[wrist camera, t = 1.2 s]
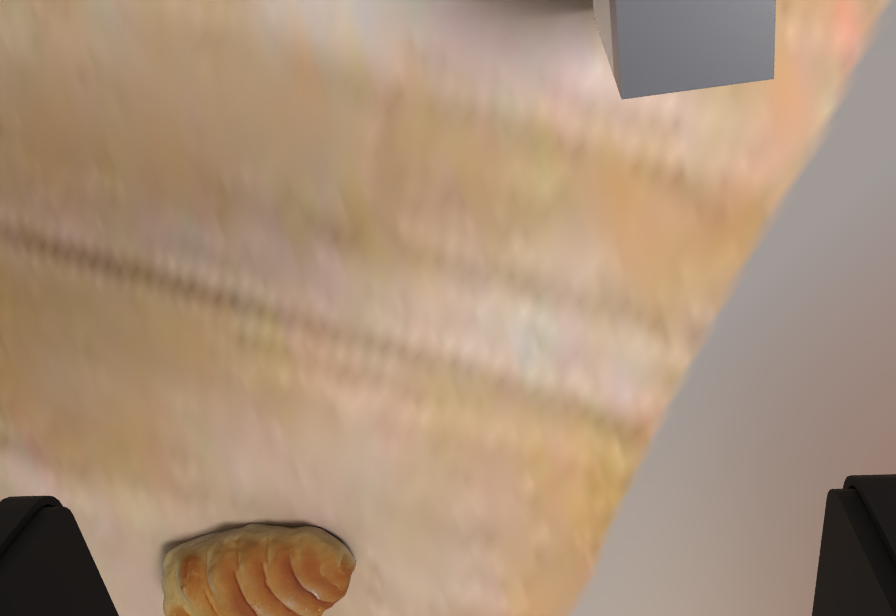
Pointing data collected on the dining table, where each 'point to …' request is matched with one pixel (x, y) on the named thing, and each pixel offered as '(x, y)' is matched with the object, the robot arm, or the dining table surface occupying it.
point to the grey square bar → (686, 43)
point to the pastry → (257, 573)
